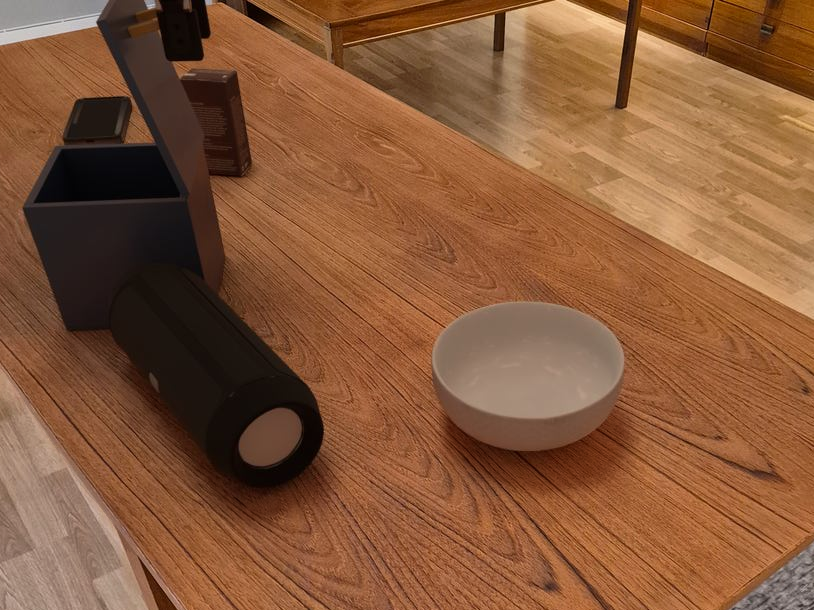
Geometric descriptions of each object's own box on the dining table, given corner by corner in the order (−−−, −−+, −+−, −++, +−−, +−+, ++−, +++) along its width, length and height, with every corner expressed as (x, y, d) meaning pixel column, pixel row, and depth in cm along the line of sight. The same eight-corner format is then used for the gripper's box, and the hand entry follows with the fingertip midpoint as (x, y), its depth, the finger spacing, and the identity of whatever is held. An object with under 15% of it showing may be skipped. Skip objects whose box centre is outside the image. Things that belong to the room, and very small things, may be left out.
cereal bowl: (446, 355, 87) (445, 292, 83) (615, 368, 86) (625, 306, 81) (418, 471, 75) (415, 406, 70) (615, 489, 74) (626, 424, 69)
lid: (95, 21, 71) (161, 2, 71) (123, -25, 81) (182, -42, 80) (182, 197, 82) (240, 181, 81) (197, 137, 91) (249, 122, 91)
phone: (131, 95, 132) (120, 136, 121) (133, 103, 133) (122, 144, 122) (75, 98, 131) (59, 139, 120) (77, 106, 132) (62, 147, 121)
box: (253, 163, 119) (238, 69, 110) (242, 178, 115) (225, 82, 107) (210, 159, 119) (191, 65, 111) (197, 174, 116) (177, 78, 108)
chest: (66, 331, 89) (21, 207, 80) (92, 262, 99) (55, 145, 90) (214, 323, 91) (187, 200, 82) (225, 256, 101) (202, 140, 92)
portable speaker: (115, 364, 86) (85, 271, 79) (211, 330, 90) (190, 240, 83) (231, 517, 71) (207, 421, 64) (339, 468, 75) (327, 373, 69)
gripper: (109, -222, 73) (159, 19, 85) (64, -192, 60) (130, 84, 73) (203, -220, 73) (239, 18, 86) (177, -191, 61) (224, 82, 74)
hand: (189, 46), depth 79 cm, fingers closed on lid, 5 cm apart
